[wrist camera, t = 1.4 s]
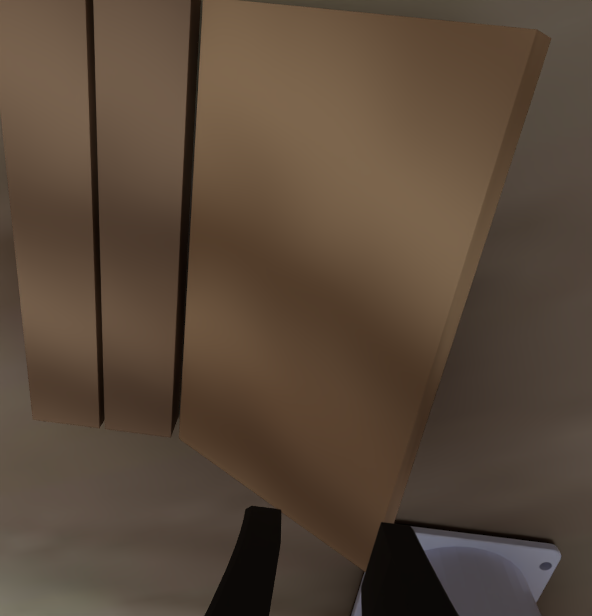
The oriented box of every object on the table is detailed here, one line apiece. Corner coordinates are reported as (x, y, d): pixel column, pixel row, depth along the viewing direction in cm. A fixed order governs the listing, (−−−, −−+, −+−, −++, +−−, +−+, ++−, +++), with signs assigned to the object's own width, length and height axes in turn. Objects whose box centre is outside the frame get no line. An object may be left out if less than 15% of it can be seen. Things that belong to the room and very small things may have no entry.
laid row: (178, 416, 20) (170, 437, 19) (48, 399, 19) (32, 419, 18) (200, 0, 14) (190, -6, 12) (10, -32, 13) (-16, -40, 12)
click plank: (386, 547, 16) (367, 573, 15) (202, 423, 19) (179, 438, 19) (551, 38, 9) (537, 29, 9) (236, 5, 13) (203, -3, 12)
